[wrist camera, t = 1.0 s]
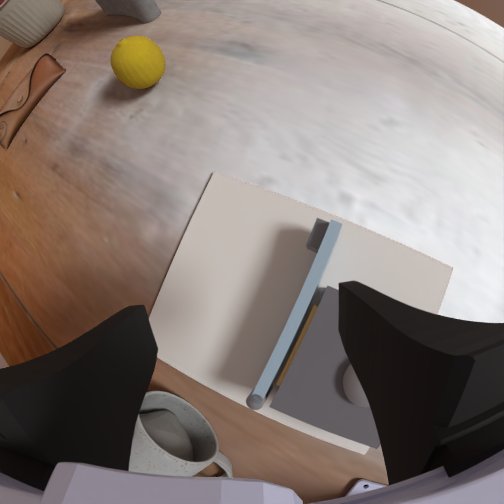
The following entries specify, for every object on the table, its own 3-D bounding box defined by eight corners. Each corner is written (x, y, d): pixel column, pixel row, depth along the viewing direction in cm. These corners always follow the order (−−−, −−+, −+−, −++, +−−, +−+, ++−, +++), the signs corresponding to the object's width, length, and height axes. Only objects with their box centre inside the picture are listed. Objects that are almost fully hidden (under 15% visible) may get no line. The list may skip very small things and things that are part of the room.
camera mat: (451, 268, 21) (453, 267, 21) (364, 452, 21) (364, 454, 20) (215, 173, 27) (214, 171, 27) (140, 344, 26) (138, 345, 26)
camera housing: (420, 327, 21) (441, 333, 17) (369, 427, 21) (378, 452, 16) (322, 286, 23) (323, 283, 19) (273, 389, 23) (263, 407, 18)
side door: (341, 237, 23) (345, 225, 19) (268, 395, 22) (259, 412, 19) (317, 227, 24) (316, 213, 20) (246, 384, 23) (232, 399, 19)
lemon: (164, 101, 30) (128, 57, 22) (127, 101, 31) (89, 64, 23) (183, 64, 30) (153, 19, 23) (146, 66, 32) (114, 27, 24)
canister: (33, 26, 47) (-10, -12, 27) (84, -8, 44) (40, -57, 23) (10, 71, 44) (-45, 31, 24) (62, 33, 40) (4, -22, 20)
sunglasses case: (4, 155, 37) (-21, 135, 32) (11, 147, 42) (-11, 130, 37) (68, 67, 36) (43, 46, 32) (69, 70, 41) (47, 51, 37)
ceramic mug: (126, 429, 25) (78, 456, 18) (167, 379, 25) (118, 403, 18) (205, 498, 23) (175, 542, 15) (257, 456, 23) (236, 505, 15)
